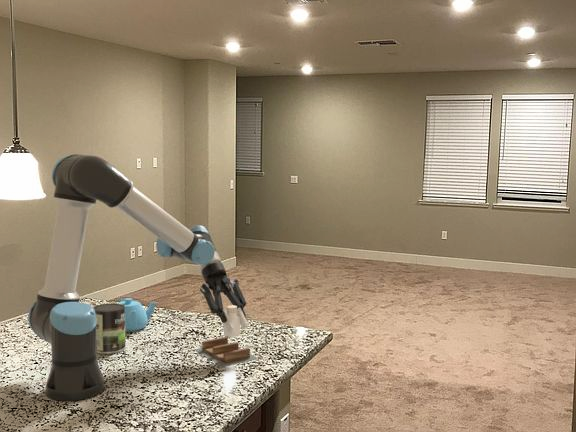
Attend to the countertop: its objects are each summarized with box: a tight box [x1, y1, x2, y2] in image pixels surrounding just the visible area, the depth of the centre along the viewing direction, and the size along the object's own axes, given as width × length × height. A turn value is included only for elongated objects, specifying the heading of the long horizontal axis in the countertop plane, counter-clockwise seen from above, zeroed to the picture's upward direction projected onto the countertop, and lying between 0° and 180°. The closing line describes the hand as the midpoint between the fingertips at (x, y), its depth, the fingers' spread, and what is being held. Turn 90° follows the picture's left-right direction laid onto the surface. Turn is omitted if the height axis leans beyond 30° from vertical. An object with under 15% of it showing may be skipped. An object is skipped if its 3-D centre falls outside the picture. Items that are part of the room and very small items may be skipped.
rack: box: [201, 336, 251, 364], centre depth 200 cm, size 15×9×3 cm, turn 37°
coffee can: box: [92, 302, 127, 355], centre depth 204 cm, size 10×10×14 cm
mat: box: [194, 342, 259, 368], centre depth 201 cm, size 19×13×1 cm
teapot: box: [116, 297, 157, 333], centre depth 229 cm, size 15×15×11 cm
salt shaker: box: [223, 304, 241, 339], centre depth 197 cm, size 4×4×10 cm
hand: (238, 328), depth 194 cm, fingers closed on salt shaker, 4 cm apart
